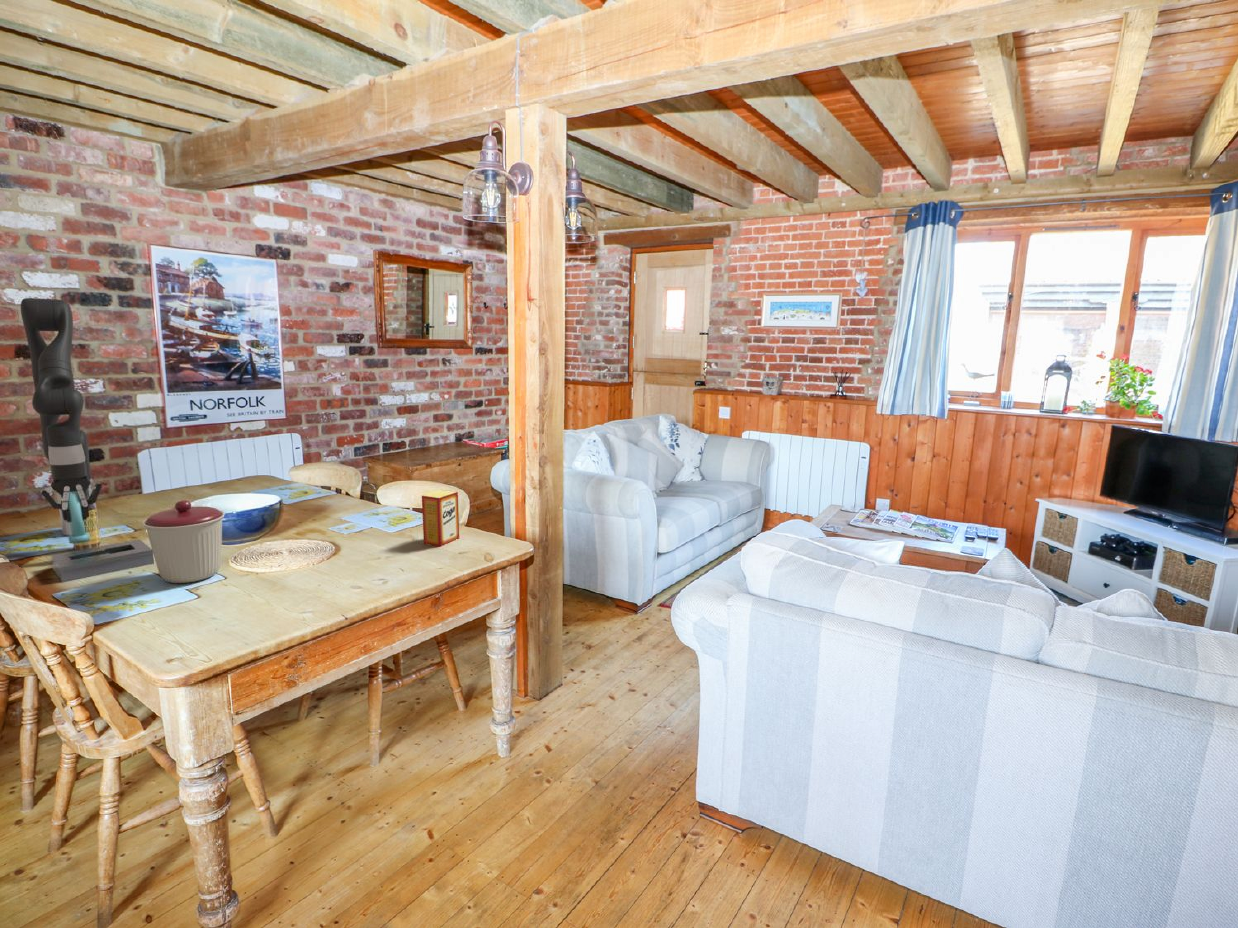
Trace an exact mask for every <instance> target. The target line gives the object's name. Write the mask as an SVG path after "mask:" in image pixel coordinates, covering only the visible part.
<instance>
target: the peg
mask: <svg viewBox="0 0 1238 928" xmlns="http://www.w3.org/2000/svg"><path fill="white" fill-rule="evenodd" d="M68 509H69V513H70V520H71V522H70V526H71V532H72V534H71V535H67V536H68V537H67V538H68V543H69V544H72V545H73V544H76V543H83V542H87V541H89V540H90V535H89V533H87V532H85V526H84V520H83V513H82V506H81V500H80V498H79V495H78V492H77V491H73V492H69V501H68Z"/></svg>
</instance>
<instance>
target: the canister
mask: <svg viewBox="0 0 1238 928" xmlns="http://www.w3.org/2000/svg"><path fill="white" fill-rule="evenodd" d="M225 515H226V514H225V512H224V511H222V510H219V509H218V508H217V507H216V508H215V507H212V506H211V507H210V506H201V505H200V506H192V503H191V501H188V500H178V501H177V502H176V503H175V505H174V508H171V509H166V510H162V511H159V512H155V513H154V514H151V515H150V516H149V517H148V518H146V519H144V520H143V521H142V523H141V524H142V527H144V528H146V533H147V536H148V539H149V543H150V548H151V549H152V551H153V558H154V563H155V565H156V567H157V568H156V569H157V571H158V573H159V576H160V577H161V579H163V581H165V582H168V583H172V584H186V583H194V582H198V581H202V580H206V579H208V578H210V577H213V576H214V575H216V574H217V573H218V572H219V570H220V568H221V563H222V562H221V561H222V547H223V546H222V544H223V540H222V539H223V518H224V517H225Z"/></svg>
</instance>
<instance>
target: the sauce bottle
mask: <svg viewBox="0 0 1238 928" xmlns="http://www.w3.org/2000/svg"><path fill="white" fill-rule="evenodd" d="M84 495H85V497H86V500H88V499H89V497H90V496H89V487H88V488H87V489H86V491H85V492H84ZM96 509H97V508H96ZM96 509H95V507H94V505H93V504H90V505H89V506H88V510H89V517H87V519H86V520H84V526H85V532H87V533H89V535H90V540H89V541H87V542H83V543H76V544H72V545H73V550H74V551H76V550H82V549H88V548H93V547H99V546H101V545H100V542H101V541H100V539H101V538H100V533H99V530H100V529H99V530H98V523H99V520H98V521H97V516H98V511H97V512H96Z"/></svg>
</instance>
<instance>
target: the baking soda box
mask: <svg viewBox="0 0 1238 928" xmlns="http://www.w3.org/2000/svg"><path fill="white" fill-rule="evenodd" d="M421 510H422V529H423V531H422V533H423V544H424V545H428V544H430V545H429V546H435V547H440V548H441V547H444V546H446V545H449V544H450V543H452V542H454V541H457V540H459V539H460V520H459V519H460V518H459V517H460V515H459V514H460V513H459V492H458V491H453V490H447V489H439V490H436V491H430V492H428V493H425V494H423V495H421ZM456 539H457V540H456ZM445 544H446V545H445Z"/></svg>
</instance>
